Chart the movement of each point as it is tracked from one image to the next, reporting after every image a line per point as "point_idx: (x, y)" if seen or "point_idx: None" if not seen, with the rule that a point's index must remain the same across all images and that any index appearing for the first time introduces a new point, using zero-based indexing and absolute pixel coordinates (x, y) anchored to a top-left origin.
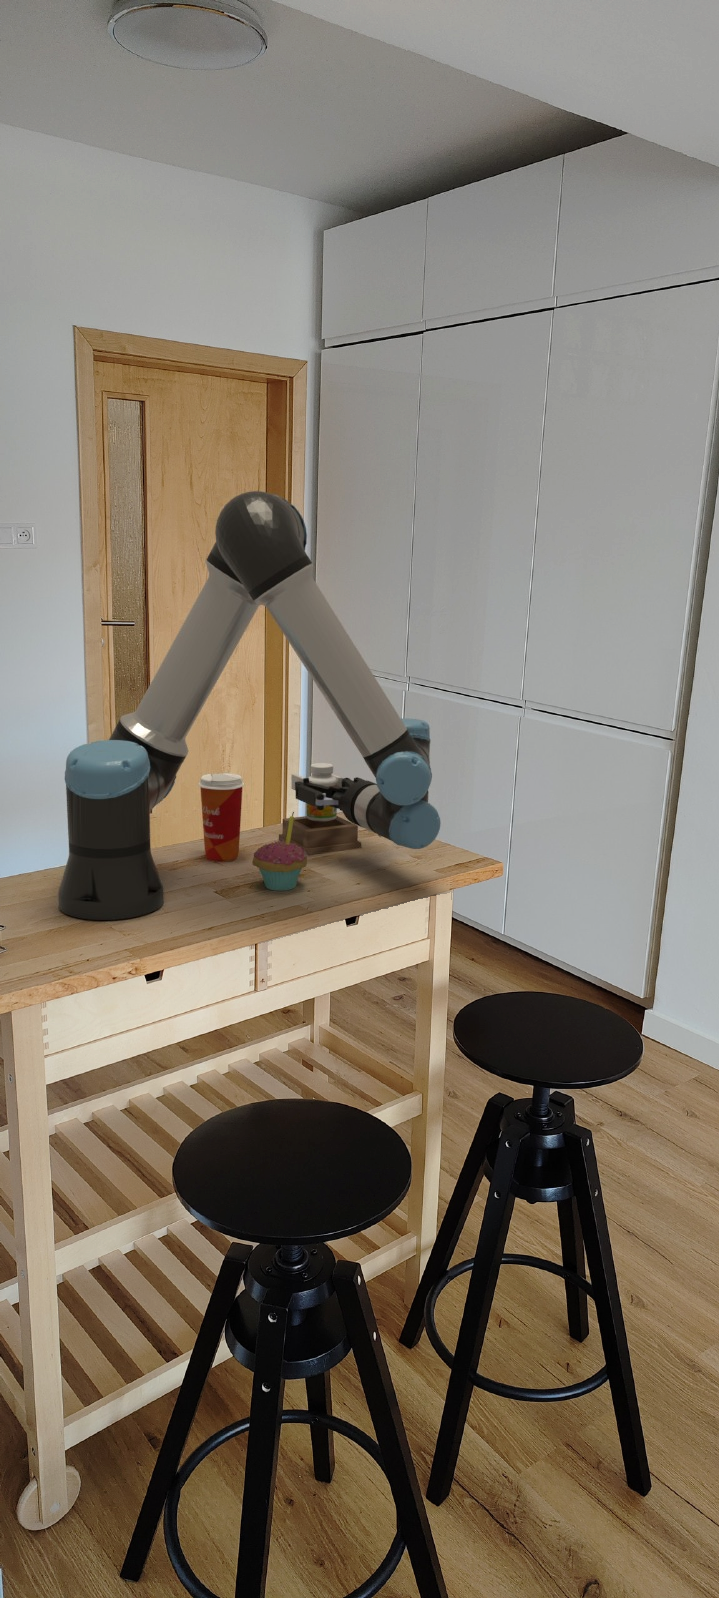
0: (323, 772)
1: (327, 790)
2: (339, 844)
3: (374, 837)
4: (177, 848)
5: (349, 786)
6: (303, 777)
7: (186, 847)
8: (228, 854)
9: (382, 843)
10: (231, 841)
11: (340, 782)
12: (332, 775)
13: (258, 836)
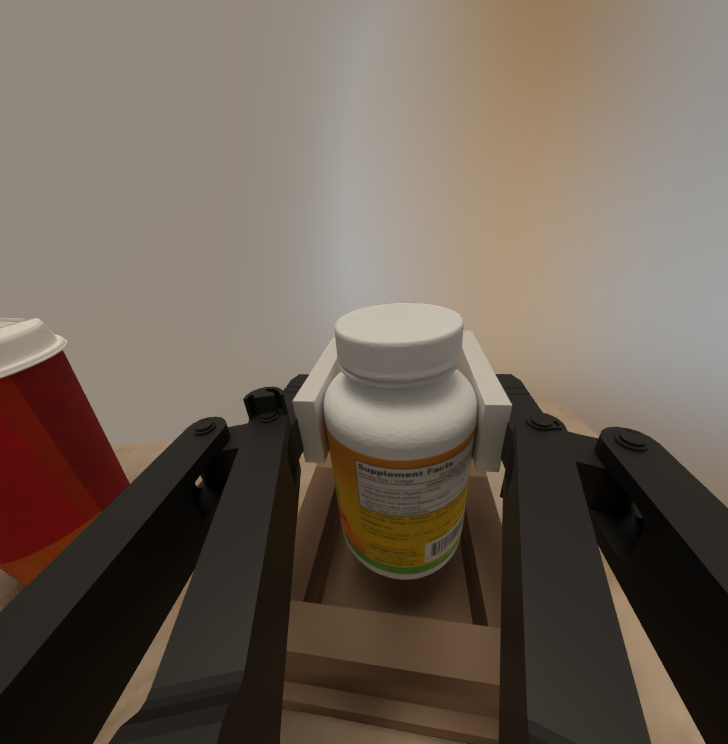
0: (370, 373)
1: (159, 692)
2: (426, 706)
3: (630, 605)
4: (134, 451)
5: (519, 626)
6: (332, 361)
7: (149, 452)
8: None
9: (684, 738)
10: (12, 565)
11: (497, 428)
12: (472, 369)
13: None
